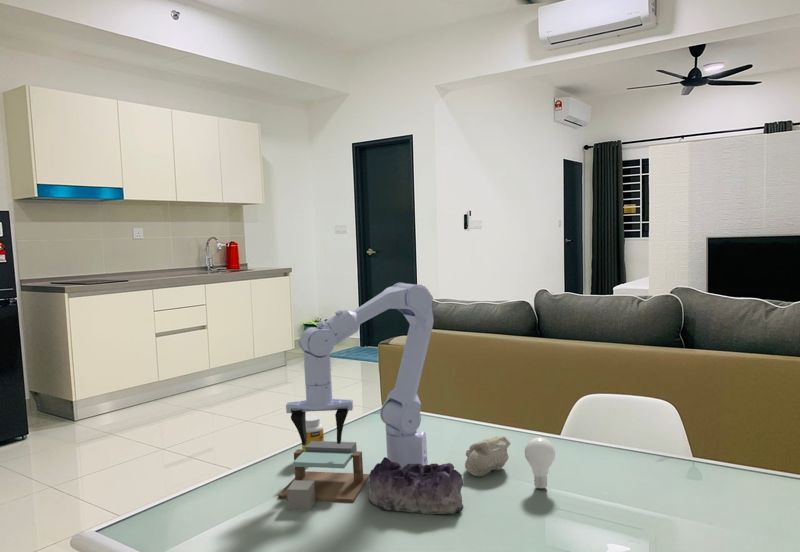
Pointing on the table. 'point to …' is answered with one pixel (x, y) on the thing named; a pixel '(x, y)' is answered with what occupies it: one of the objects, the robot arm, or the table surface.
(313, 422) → the supplement bottle
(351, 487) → the frame
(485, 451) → the fossil replica
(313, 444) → the trapdoor
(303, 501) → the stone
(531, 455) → the lightbulb
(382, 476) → the geode
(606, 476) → the table surface
